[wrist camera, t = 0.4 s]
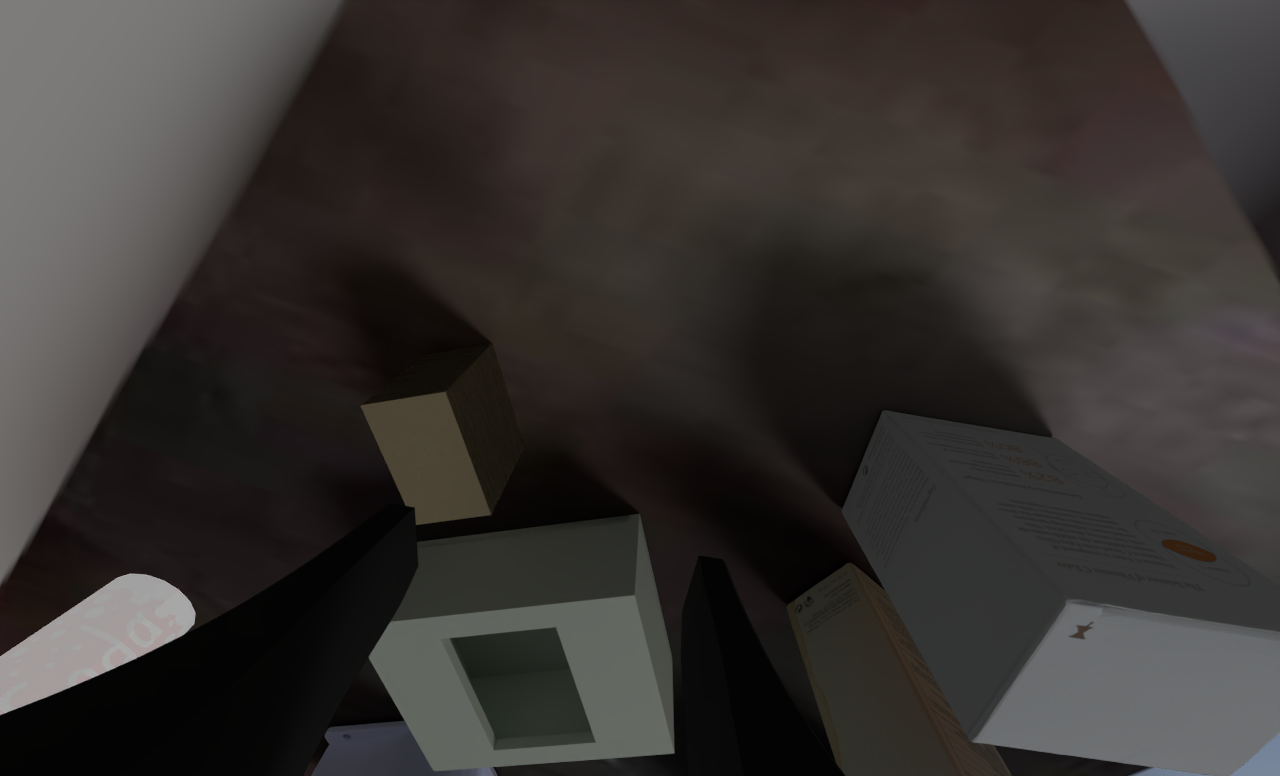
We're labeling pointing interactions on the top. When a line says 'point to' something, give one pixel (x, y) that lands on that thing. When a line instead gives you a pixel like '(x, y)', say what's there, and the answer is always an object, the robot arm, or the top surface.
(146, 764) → the robot arm
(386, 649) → the slot box
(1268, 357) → the top surface
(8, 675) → the beverage cup
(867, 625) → the skincare box
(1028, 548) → the small box
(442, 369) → the wooden rectangular block
